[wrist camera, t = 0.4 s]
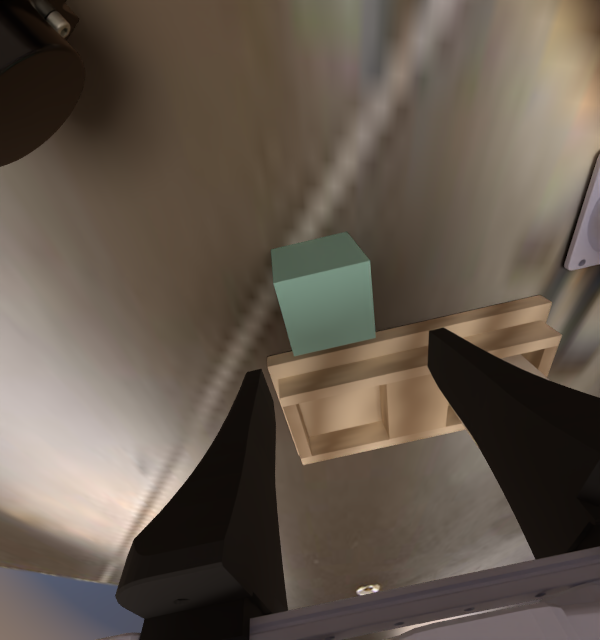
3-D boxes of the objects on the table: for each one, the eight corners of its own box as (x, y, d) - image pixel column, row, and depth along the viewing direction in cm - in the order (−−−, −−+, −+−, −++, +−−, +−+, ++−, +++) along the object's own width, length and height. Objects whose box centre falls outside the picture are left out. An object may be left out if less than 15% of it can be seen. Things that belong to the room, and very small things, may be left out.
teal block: (346, 231, 19) (370, 260, 15) (354, 297, 22) (375, 337, 18) (270, 249, 19) (273, 283, 15) (287, 312, 22) (293, 356, 18)
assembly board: (539, 294, 24) (575, 316, 21) (511, 397, 30) (535, 423, 28) (267, 356, 24) (267, 385, 21) (297, 444, 31) (300, 474, 28)
